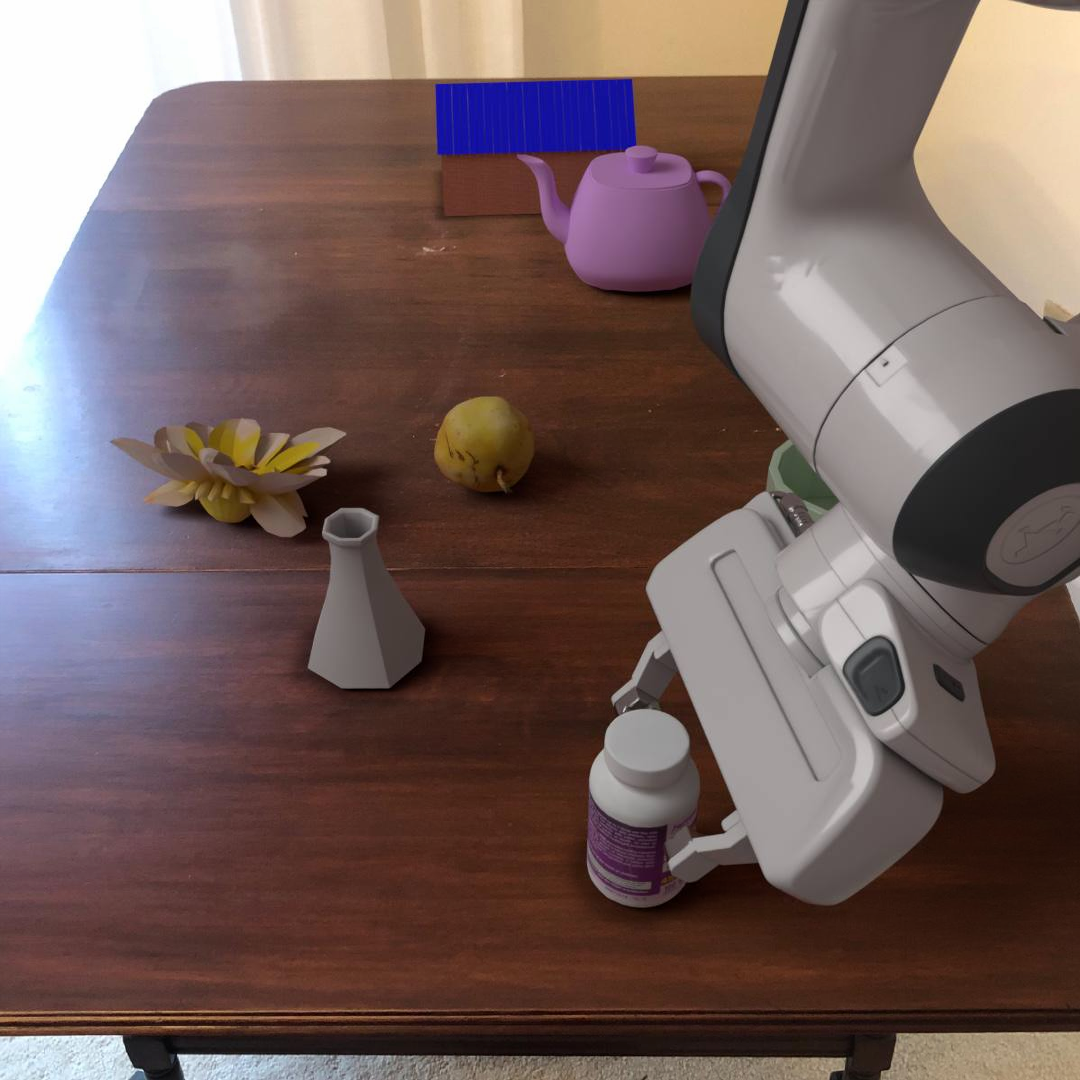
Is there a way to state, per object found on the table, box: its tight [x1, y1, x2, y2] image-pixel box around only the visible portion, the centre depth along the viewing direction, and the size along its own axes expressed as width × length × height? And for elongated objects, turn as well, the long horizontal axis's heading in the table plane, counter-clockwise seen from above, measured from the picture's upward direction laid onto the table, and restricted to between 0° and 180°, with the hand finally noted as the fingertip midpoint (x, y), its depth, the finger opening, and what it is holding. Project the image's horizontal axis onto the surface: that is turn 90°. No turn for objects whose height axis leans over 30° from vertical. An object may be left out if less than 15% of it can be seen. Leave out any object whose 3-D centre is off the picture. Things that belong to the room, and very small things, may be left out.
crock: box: [765, 438, 840, 522], centre depth 81 cm, size 10×10×6 cm
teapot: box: [517, 145, 732, 293], centre depth 112 cm, size 20×13×12 cm, turn 89°
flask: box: [307, 507, 426, 689], centre depth 72 cm, size 7×7×10 cm
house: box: [434, 78, 638, 217], centre depth 127 cm, size 12×20×12 cm, turn 93°
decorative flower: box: [109, 417, 347, 538], centre depth 85 cm, size 15×11×10 cm
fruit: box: [433, 394, 535, 495], centre depth 87 cm, size 7×7×10 cm
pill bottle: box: [586, 709, 701, 909], centre depth 60 cm, size 5×5×10 cm
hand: (646, 786), depth 59 cm, fingers open, 8 cm apart
